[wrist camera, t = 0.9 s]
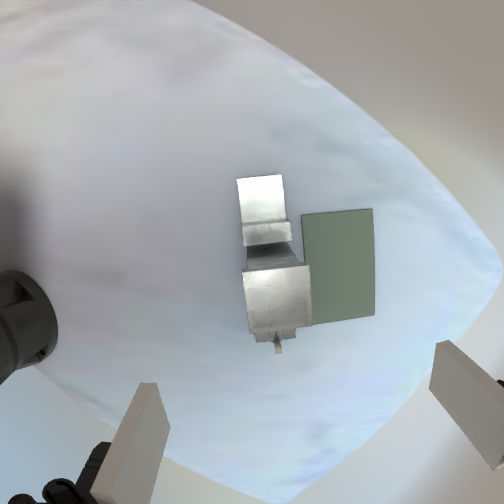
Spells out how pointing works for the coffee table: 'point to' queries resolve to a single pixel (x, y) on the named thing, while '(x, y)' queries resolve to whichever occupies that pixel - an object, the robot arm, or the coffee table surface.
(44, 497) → the robot arm
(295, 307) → the bar
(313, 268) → the mat
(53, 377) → the coffee table surface
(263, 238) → the silver metal blocks
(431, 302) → the coffee table surface
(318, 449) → the coffee table surface
